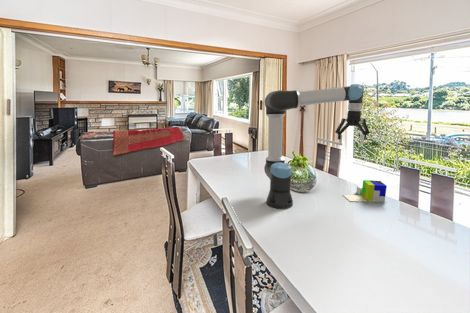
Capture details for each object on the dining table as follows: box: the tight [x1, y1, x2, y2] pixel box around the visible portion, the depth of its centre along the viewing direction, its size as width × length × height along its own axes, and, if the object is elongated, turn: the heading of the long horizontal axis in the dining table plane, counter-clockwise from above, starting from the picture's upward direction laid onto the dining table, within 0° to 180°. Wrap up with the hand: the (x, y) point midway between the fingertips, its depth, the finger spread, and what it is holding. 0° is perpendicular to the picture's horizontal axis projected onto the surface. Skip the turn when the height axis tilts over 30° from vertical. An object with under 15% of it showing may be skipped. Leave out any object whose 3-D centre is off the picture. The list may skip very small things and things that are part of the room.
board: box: [342, 194, 387, 203], centre depth 157 cm, size 22×11×1 cm, turn 89°
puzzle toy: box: [362, 179, 387, 203], centre depth 156 cm, size 10×10×10 cm
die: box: [356, 185, 363, 195], centre depth 166 cm, size 5×5×5 cm
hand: (350, 145), depth 159 cm, fingers open, 13 cm apart
